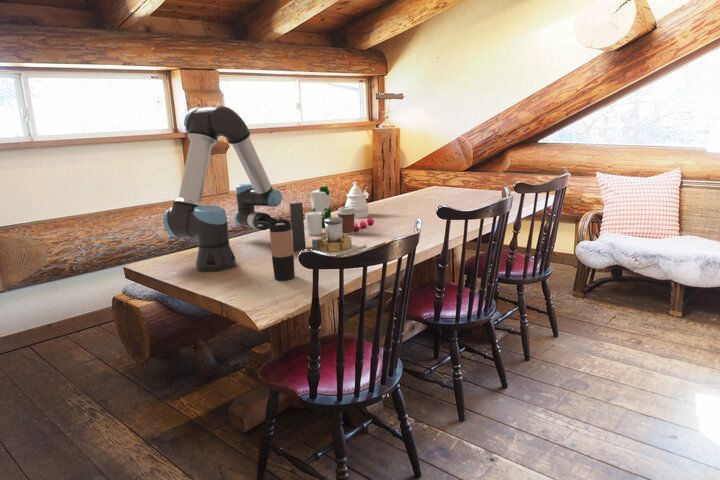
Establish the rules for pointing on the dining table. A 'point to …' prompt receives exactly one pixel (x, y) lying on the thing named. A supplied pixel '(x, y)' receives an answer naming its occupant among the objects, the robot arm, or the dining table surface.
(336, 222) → the white lidded jar
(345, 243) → the grey and gold stand
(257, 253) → the dining table surface
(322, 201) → the milk carton
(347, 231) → the coffee cup
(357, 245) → the base plate
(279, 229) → the travel mug
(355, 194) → the honey pot
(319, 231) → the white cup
